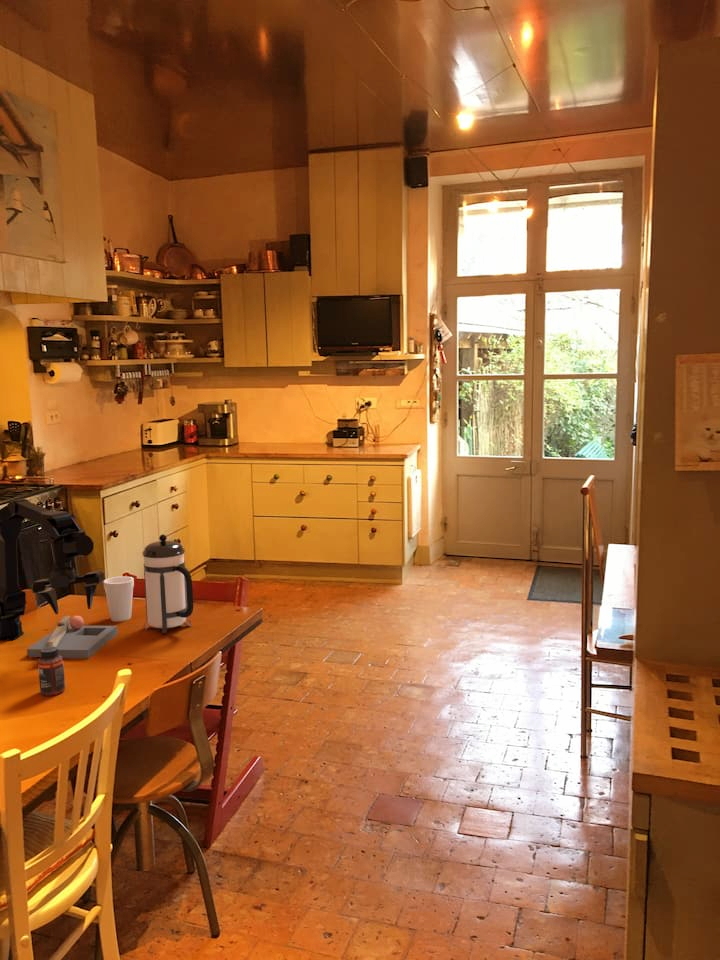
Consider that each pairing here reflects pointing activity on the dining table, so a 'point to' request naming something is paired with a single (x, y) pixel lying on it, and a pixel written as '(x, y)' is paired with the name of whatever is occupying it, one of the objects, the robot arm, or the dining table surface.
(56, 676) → the supplement bottle
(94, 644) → the board
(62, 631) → the lever
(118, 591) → the foam cup
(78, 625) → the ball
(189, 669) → the dining table surface
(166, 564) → the coffee press
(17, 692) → the dining table surface
